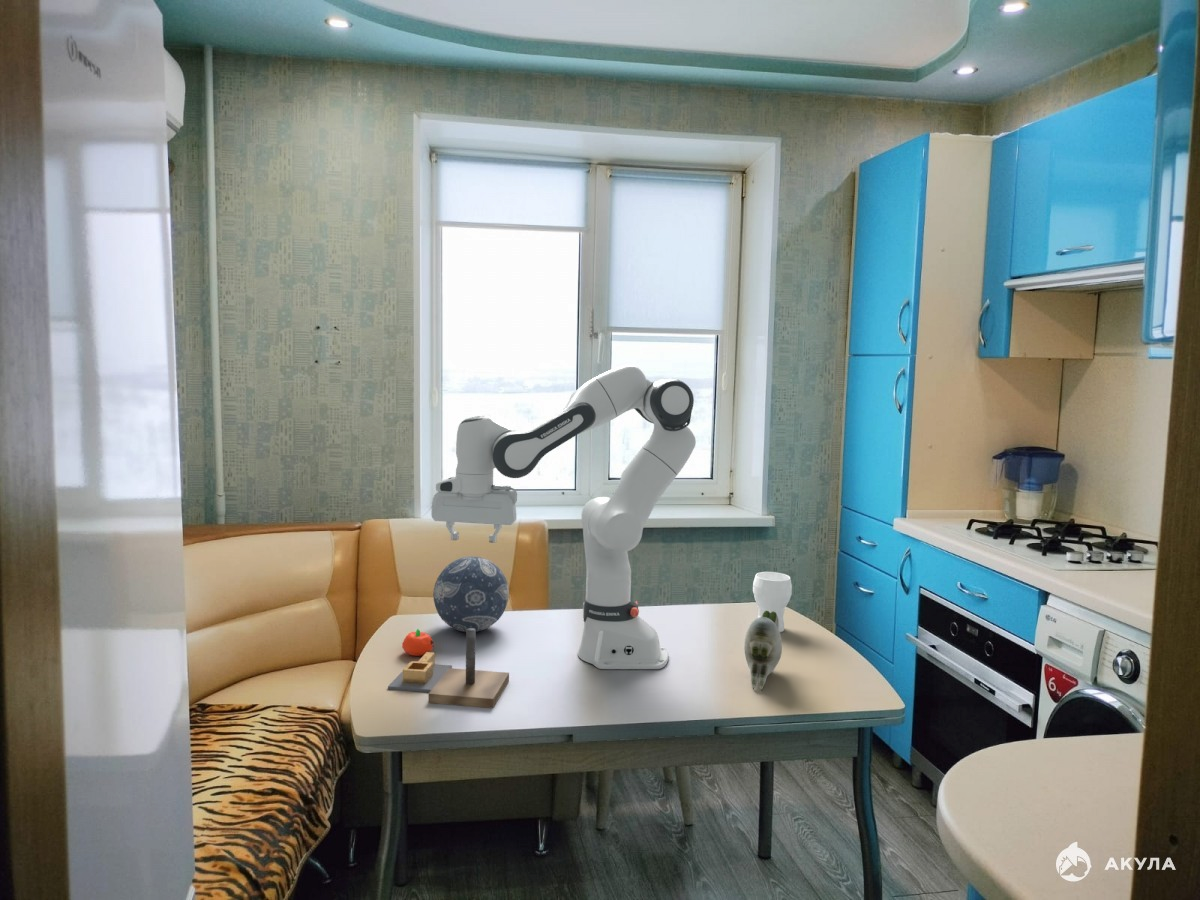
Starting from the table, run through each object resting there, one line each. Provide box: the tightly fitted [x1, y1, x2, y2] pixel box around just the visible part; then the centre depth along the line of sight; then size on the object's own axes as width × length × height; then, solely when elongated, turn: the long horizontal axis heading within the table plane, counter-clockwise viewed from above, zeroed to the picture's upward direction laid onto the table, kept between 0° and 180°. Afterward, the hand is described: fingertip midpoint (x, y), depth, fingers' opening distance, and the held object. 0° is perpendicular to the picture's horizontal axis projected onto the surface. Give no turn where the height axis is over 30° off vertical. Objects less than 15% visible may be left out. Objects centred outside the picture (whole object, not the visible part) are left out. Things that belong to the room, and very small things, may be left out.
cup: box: [752, 571, 793, 633], centre depth 215 cm, size 11×11×15 cm
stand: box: [428, 628, 510, 709], centre depth 168 cm, size 14×14×14 cm
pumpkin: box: [401, 628, 434, 657], centre depth 189 cm, size 7×8×6 cm
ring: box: [402, 651, 436, 685], centre depth 176 cm, size 5×11×3 cm, turn 174°
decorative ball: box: [433, 556, 510, 633], centre depth 206 cm, size 20×20×20 cm
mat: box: [387, 663, 453, 693], centre depth 175 cm, size 10×14×1 cm
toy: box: [743, 611, 783, 692], centre depth 182 cm, size 8×15×20 cm
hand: (473, 541), depth 185 cm, fingers open, 8 cm apart
